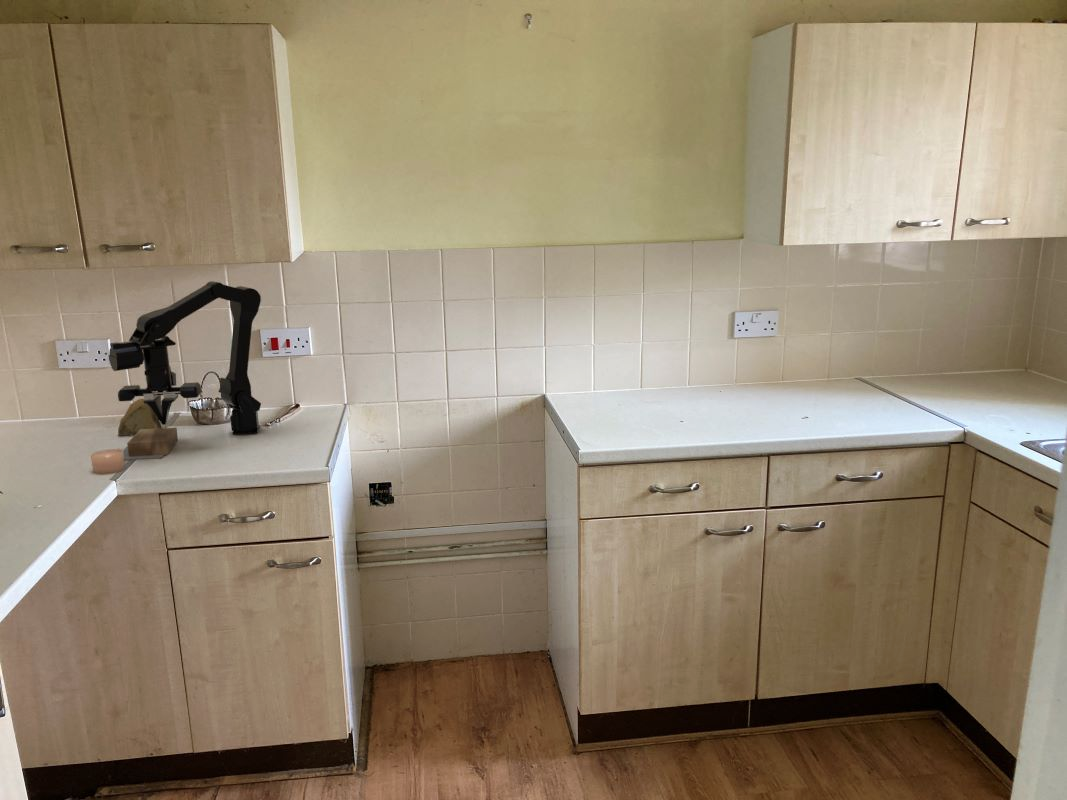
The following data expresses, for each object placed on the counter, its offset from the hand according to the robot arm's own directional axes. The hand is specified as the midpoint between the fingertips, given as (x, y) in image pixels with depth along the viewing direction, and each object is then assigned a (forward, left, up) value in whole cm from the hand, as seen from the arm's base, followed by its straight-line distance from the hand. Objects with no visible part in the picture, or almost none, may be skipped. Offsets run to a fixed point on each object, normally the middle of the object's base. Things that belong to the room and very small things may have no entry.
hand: (164, 424), depth 215 cm
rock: (+11, -17, -7) cm, 21 cm away
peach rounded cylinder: (+10, +14, -7) cm, 19 cm away
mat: (+5, 0, -6) cm, 8 cm away
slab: (-1, 0, -4) cm, 5 cm away
